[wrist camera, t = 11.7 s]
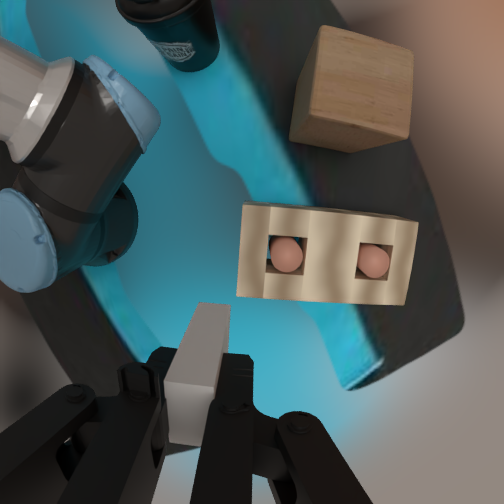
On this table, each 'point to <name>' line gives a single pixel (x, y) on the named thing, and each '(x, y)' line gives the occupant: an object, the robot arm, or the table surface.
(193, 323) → the robot arm
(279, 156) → the table surface
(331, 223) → the socket board
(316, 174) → the table surface
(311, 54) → the wooden block
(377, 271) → the peg
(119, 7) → the water bottle
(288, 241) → the peg
